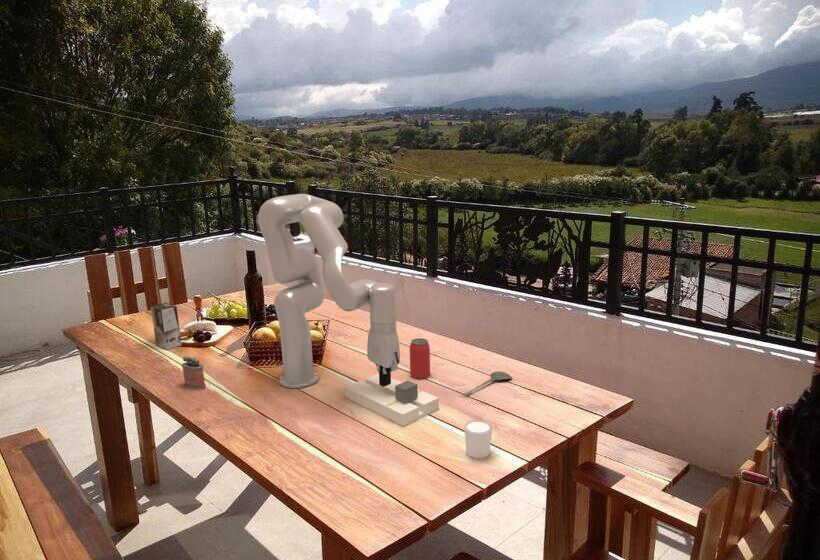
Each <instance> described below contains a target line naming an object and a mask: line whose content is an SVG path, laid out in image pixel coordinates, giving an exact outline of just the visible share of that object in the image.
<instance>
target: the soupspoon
mask: <svg viewBox="0 0 820 560" xmlns="http://www.w3.org/2000/svg"><path fill="white" fill-rule="evenodd" d="M510 379H511V380H512V379H513V376H511V375H510V374H509V373H508V372H505V371H502V370H500V371H498V370H497V371H493V372H491V373H490V378H489V379H487V380H486V381H484V382H483V383H481V384H479V385H477V386H476V387H474V388H472V389H470V390H469V391H467V392H463V393H462V396H463V395H464V396H463V397H465V396H466V397H465V398H468V396H469V395H470V394H472V393H473V392H475V391H476V390H478V389H479V388H481V387H483V386H485V385H487V384H489V383H491V382H494V381H503V380H510Z"/></svg>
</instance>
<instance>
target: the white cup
mask: <svg viewBox="0 0 820 560" xmlns="http://www.w3.org/2000/svg"><path fill="white" fill-rule="evenodd" d="M463 430H464V431H463V432H464V439H465V440H464V441H465V448H466V454H467V456H468V455H469V457H470V456H471V458H472V457H474V458H473V459H477V458H481V459H484V458H483V457H485V458H487V457H489V455H490V450H491V444H492V443H491V440H492V432H493V427H492V425H491V423H489V422H487V421H485V420H470V421H468V422H466V423H465V424H464V427H463ZM486 456H487V457H486Z"/></svg>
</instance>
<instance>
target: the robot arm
mask: <svg viewBox="0 0 820 560" xmlns="http://www.w3.org/2000/svg"><path fill="white" fill-rule="evenodd" d="M343 213H344V212H343V210H342V208H341V207H340V206H339V205H338V204H336V203H335V202H333V201H329V200H327V199H324V198H321V197H317V196H314V195H311V194H307V193H297V194H288V195H282V196H281V195H280V196H276V197H273V198H269V199H268V200H266V201H265V202H264V203H263V204H262V205H261V206H260V208H259V211H258V217H257V221H258V226H259V230H260V232H261V234H262V237H263V239H264V242H265V248H266V252H267V256H268V257H267V258H268V260H269V265H270V269H271V273H272V276H273V278H274V279H275V282H278V283H279V284H289V283H293V282H295V281H297V284H294V285H290V286H288V287H285V288H283V289H281V290H280V291H279V292H278V293H277V294H276V296H275V297H274V302H273V304H274V309H275V312H276V315H277V320H278V326H279V335H280V336H279V337H280V347H281V357H282V364H281V366H280V370H281V369H282V370H283V374H282V375H281V376H280V377H279V378H278V379H279V384H280V385H281V386H282V387H285V388H288V389H301V388H307V387H309V386H312V385H314V384H316V383H317V382H318V381H319V379H320V376H319V373H318V372H316V371H314V360H313V347H312V345H313V344H312V333H311V326H310V323H309V322H308V320H307V318H306V316H305V314H307V313H308V312H310V311H314V310H316V309H317V308H319V307H320V306H322V304H323V303H324V299H325V291H324V286H323V283H324V285H325V287H326V290H327V292H328V293H329V295H330V297H331V298H332V300H333V302H334V303H335V304H336V306H337V307H339V308H340V309H341V310H342V311H344V312H354V311H356V310H358V309H361V308H362V307H366V306H369V322H370V324H369V325H370V328H369V330H368V334H367V344H366V345H367V346H366V347H367V348H366V351H367V353H366V355H367V359H368V361H369V362H372V363H373V364H374V365H375V366H376V370H377V372H378V374H379V385H381V386H383V387H385V386H387V385H390V384H391V378H392V374H391V373H393V372H396V371H398V370H399V366H398V365H399V364H400V363H401V349H400V340H399V335H398V332H397V302H396V301H397V300H396V299H397V297H396V294H397V292H396V287H395V285H393V284H392V283H390V282H389V283H388V282H378V281H375V280H372V279H370V278H362V279H360V280H356V281H353V282H351V283H349V282H348V280H347V278H346V277H345V275H344V271H343V270H342V259H343V257H344V255H345V254H346V252H347V251H348V249H349V247H348V242H347V241H346V240H345V239H344V236H343V235H342V233H341V232H340V230H339V228H340V227H341V226H342V225H343V223H344V214H343ZM299 222H300V224H301V226H302V228H303V230H304V231H305V233H306V234H307V236H308V238H309V239H310V241H311V243H312V244H313V247H314V248H315V249H316V252H318V254H319V256H320V258H321V260H322V275H323V276H321V271H320V266H319V262H318V260H317V257H316V256H315V255H314V253H313V252H312V251H310V250H309V249H307V248H297V249H296V246H295V242H294V237H293V236H292V234H291V232H290V230H289V229H288V228H287V227H286V225H288V224H289V225H290V224H293V223H299ZM322 277H323V280H322Z"/></svg>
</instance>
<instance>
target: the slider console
mask: <svg viewBox="0 0 820 560" xmlns="http://www.w3.org/2000/svg"><path fill="white" fill-rule="evenodd" d="M401 383H403V382H402V381H400V380H398V379H395V378H393V377H391V384H390V385H387V386H385V387H383V386H381V385H379V373H377V374H374V375H372V376H369V377H366V378H364V381H362V380H359V381H355V382H353V383H350V384H348V385H345V386H344V393H345V395H344V396H345V398H347V399H348V400H350V401H352V402H354V403H356V404H358V405H360V406H361V407H364V408H366V409H368V410H370V411H372V412H373V413H374V412H375V413H376V414H378V415H380V416H382V417H384V418H386V419H388V420H390V421H392V422H393V423H396V424H397V425H400V426H401V427H404V426H407V425H409V424H411V423H412V422H415V421H417V420H419V419H421V418H423V417H425V416H428V415H430V414H432V413H433V412H435V411H438V410H440V399H439V397H438V396H435V395H433V394H431V393H428V392H426V391H424V390H421V389H419V388H418V398H415V399H413V400H411V401H409V403H408V402H406V403H404V402H401V401H399V400H397V399H395V386H396V385H398V384H401Z"/></svg>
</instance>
